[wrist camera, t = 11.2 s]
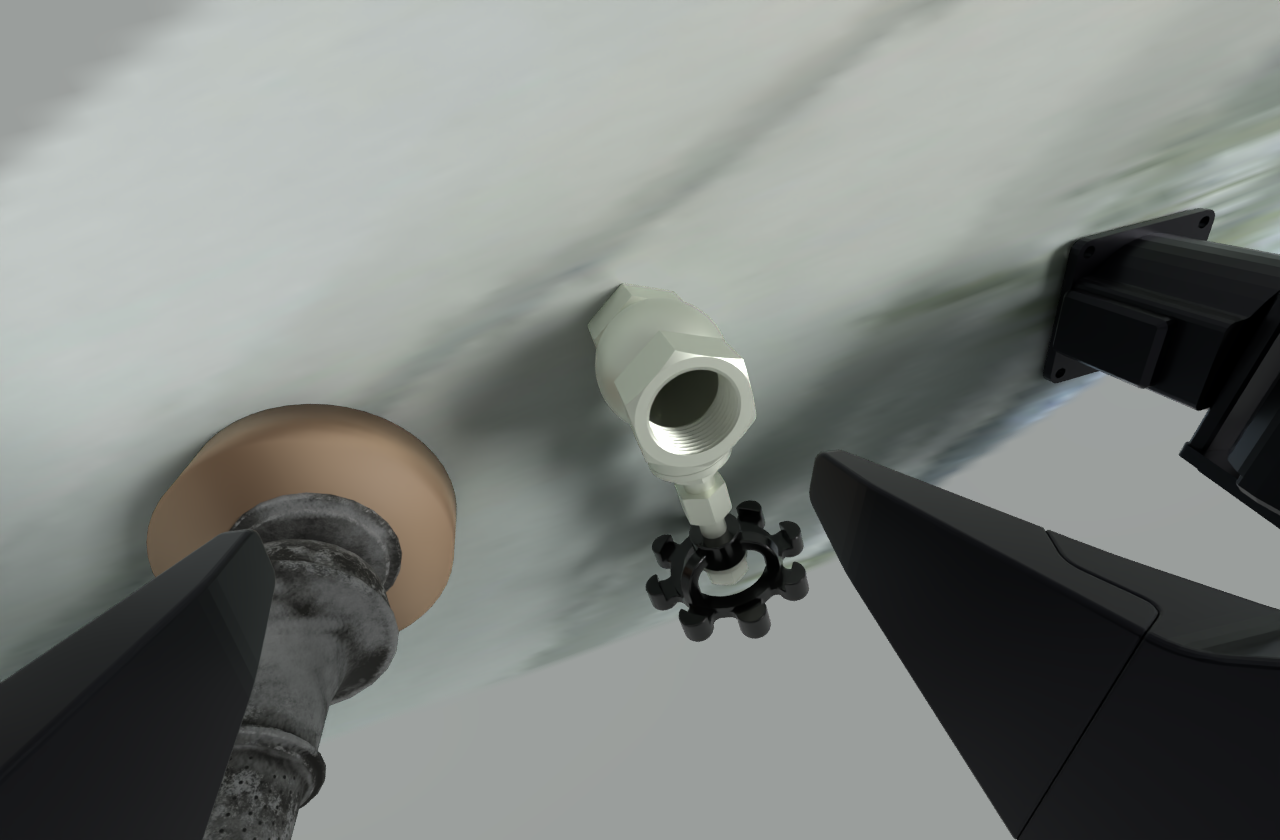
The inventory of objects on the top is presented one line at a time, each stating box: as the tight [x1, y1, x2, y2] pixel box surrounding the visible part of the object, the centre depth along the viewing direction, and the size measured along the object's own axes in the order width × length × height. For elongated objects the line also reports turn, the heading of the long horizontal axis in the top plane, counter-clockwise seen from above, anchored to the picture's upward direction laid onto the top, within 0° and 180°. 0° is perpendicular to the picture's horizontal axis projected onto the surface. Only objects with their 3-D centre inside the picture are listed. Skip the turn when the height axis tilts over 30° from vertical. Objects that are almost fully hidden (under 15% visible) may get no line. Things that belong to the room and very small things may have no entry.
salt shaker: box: [203, 492, 402, 840], centre depth 14 cm, size 6×6×12 cm
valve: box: [587, 283, 809, 642], centre depth 20 cm, size 7×7×12 cm
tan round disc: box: [147, 404, 456, 631], centre depth 20 cm, size 9×9×2 cm
